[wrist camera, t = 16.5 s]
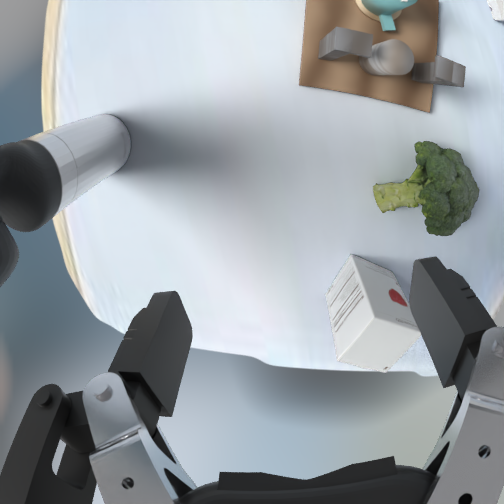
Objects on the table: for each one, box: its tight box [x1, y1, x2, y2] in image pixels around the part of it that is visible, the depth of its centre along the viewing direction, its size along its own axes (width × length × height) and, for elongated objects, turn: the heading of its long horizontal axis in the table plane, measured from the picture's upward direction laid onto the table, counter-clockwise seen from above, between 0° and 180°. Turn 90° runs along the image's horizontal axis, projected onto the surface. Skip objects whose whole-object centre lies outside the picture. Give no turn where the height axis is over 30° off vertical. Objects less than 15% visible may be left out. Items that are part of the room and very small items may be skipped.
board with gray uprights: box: [299, 0, 466, 113], centre depth 25 cm, size 18×18×12 cm
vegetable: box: [373, 141, 479, 236], centre depth 36 cm, size 12×13×15 cm
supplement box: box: [325, 254, 421, 373], centre depth 43 cm, size 9×9×15 cm
